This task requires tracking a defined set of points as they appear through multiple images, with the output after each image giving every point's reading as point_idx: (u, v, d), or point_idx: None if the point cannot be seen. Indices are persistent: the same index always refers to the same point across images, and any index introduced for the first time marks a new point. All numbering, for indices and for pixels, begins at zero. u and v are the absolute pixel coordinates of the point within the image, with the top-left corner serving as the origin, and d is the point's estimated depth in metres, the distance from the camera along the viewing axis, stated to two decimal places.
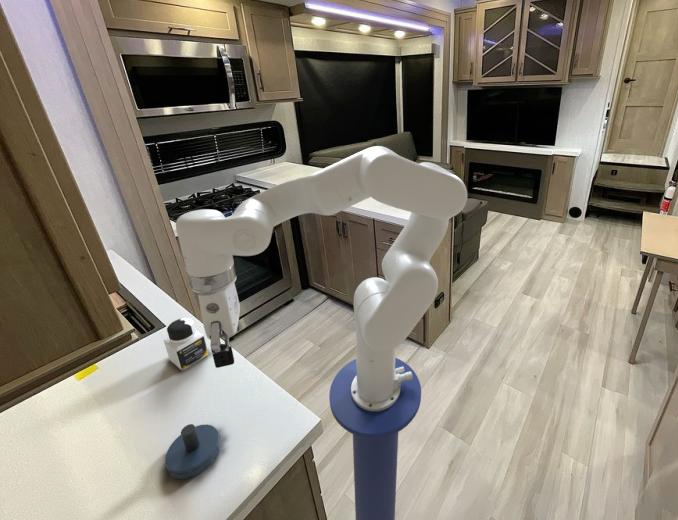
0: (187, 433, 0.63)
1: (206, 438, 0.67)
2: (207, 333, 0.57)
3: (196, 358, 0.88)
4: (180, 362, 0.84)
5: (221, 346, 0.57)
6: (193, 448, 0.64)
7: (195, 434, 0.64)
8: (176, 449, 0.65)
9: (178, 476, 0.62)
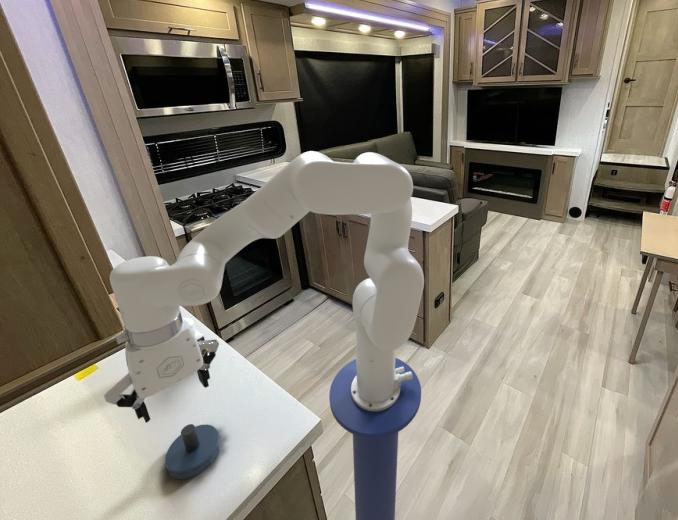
0: (187, 433, 0.63)
1: (206, 438, 0.67)
2: None
3: None
4: None
5: (118, 402, 0.52)
6: (193, 448, 0.64)
7: (195, 434, 0.64)
8: (176, 449, 0.65)
9: (178, 476, 0.62)
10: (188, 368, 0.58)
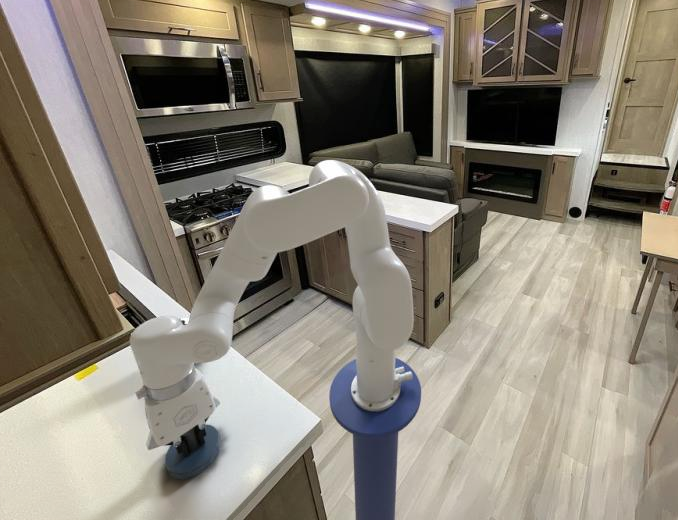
0: (187, 433, 0.63)
1: (206, 438, 0.67)
2: None
3: None
4: None
5: None
6: (193, 448, 0.64)
7: (195, 434, 0.64)
8: None
9: (178, 476, 0.62)
10: (202, 414, 0.62)
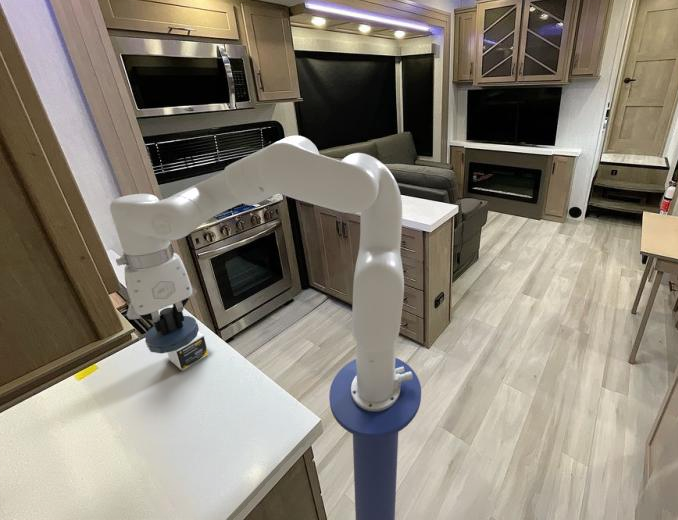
0: (166, 312, 0.68)
1: (184, 324, 0.72)
2: (130, 300, 0.64)
3: (196, 358, 0.88)
4: (180, 362, 0.84)
5: (141, 316, 0.65)
6: (171, 329, 0.70)
7: (173, 316, 0.70)
8: (156, 331, 0.70)
9: (157, 350, 0.67)
10: (179, 294, 0.67)
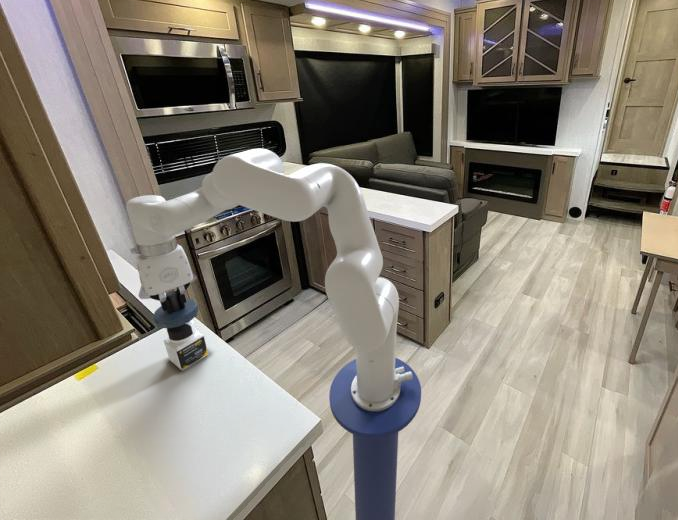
0: (171, 294, 0.81)
1: (186, 305, 0.85)
2: (141, 283, 0.78)
3: (196, 358, 0.88)
4: (180, 362, 0.84)
5: (150, 296, 0.78)
6: (175, 309, 0.83)
7: (177, 298, 0.83)
8: (162, 310, 0.83)
9: (163, 325, 0.80)
10: (182, 279, 0.81)
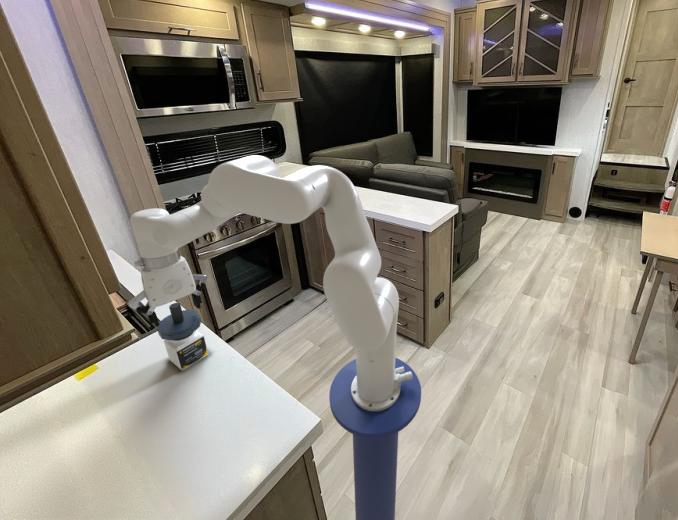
0: (174, 307, 0.83)
1: (189, 316, 0.87)
2: None
3: (196, 358, 0.88)
4: (180, 362, 0.84)
5: (137, 308, 0.76)
6: (179, 320, 0.84)
7: (180, 310, 0.84)
8: (166, 322, 0.85)
9: (167, 337, 0.81)
10: (185, 290, 0.82)
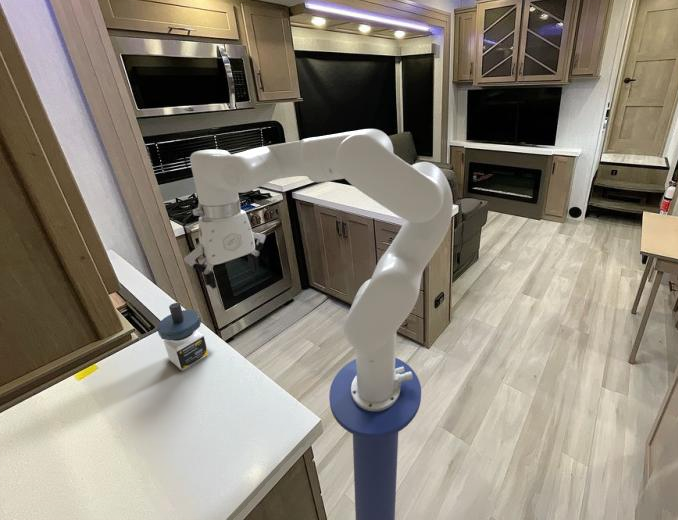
0: (174, 307, 0.83)
1: (189, 316, 0.87)
2: None
3: (196, 358, 0.88)
4: (180, 362, 0.84)
5: (194, 265, 0.66)
6: (179, 320, 0.84)
7: (180, 310, 0.84)
8: (166, 322, 0.85)
9: (167, 337, 0.81)
10: (244, 248, 0.71)
